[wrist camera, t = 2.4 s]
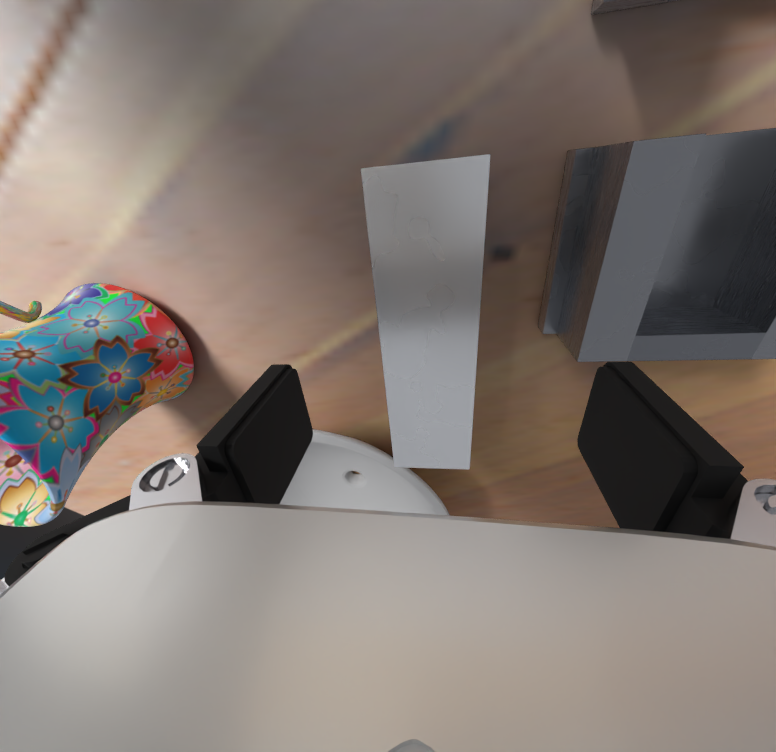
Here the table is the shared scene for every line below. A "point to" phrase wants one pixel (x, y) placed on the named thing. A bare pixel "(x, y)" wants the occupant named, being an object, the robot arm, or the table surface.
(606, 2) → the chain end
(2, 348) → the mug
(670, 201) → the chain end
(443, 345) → the gray trapezoid plate
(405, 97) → the table surface
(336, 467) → the dish
